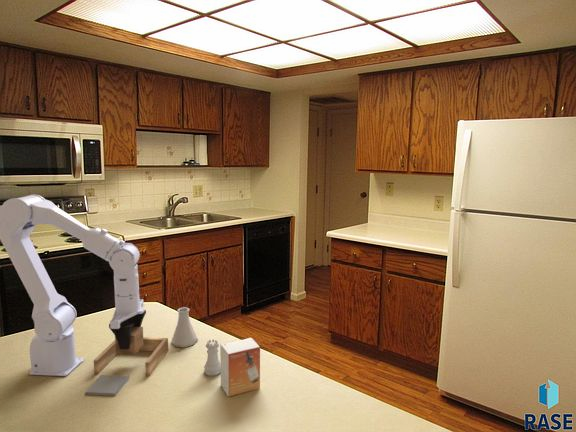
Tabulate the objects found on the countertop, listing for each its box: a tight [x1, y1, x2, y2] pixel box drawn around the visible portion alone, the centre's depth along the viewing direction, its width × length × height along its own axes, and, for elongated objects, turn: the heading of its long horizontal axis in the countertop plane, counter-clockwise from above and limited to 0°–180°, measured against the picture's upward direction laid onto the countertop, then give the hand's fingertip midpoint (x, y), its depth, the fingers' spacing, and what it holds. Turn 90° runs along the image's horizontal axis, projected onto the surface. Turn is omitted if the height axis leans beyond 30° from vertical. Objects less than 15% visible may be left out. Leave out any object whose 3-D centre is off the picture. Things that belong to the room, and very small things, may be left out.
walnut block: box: [114, 326, 144, 355], centre depth 103 cm, size 5×5×5 cm
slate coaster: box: [84, 374, 130, 397], centre depth 94 cm, size 7×7×1 cm
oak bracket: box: [93, 336, 169, 377], centre depth 105 cm, size 14×13×4 cm
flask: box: [170, 306, 199, 348], centre depth 115 cm, size 7×7×10 cm
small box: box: [219, 337, 261, 398], centre depth 93 cm, size 8×6×10 cm
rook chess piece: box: [203, 339, 221, 377], centre depth 100 cm, size 4×4×8 cm
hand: (129, 343), depth 103 cm, fingers closed on walnut block, 5 cm apart
